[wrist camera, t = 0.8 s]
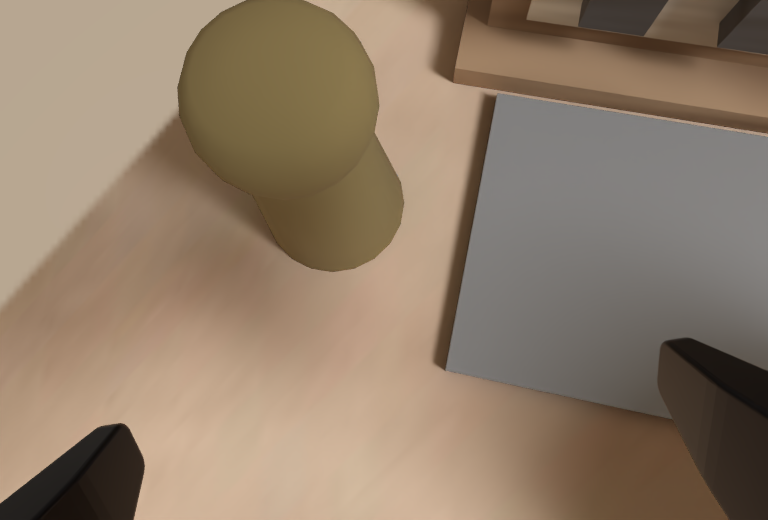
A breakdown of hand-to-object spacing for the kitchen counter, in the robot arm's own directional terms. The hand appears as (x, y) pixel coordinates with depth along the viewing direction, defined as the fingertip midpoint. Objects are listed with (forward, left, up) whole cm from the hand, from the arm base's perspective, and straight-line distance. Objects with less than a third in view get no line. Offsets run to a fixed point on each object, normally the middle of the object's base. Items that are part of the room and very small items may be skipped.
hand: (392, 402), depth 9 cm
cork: (+7, +5, -13) cm, 15 cm away
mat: (+7, -7, -13) cm, 16 cm away
